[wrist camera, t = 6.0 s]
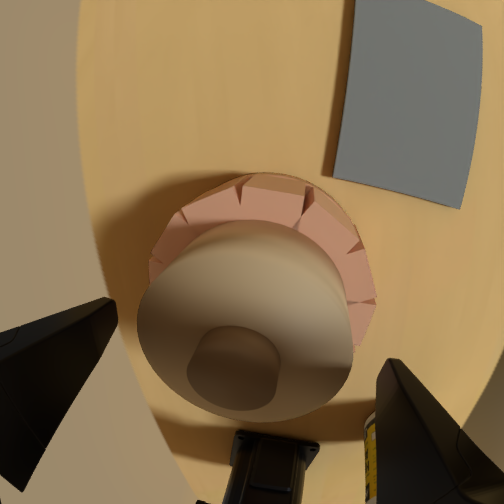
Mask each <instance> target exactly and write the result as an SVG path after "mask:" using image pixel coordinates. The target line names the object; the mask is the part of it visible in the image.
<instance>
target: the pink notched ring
mask: <svg viewBox="0 0 504 504" xmlns="http://www.w3.org/2000/svg"><path fill="white" fill-rule="evenodd" d="M237 220H264V221H270V222H274V223H278V224H282V225H285V226H287V227H290V228H293V229H295V230H297V231H299V232H300V233H302V234H304V235H306V236H307V237H309V238H310V239H311V240H313V241H314V242H316V243H317V244H318V245H319V246H320V247H321V248H322V249H323V250H324V251H325V252H326V253H327V254H328V256H329V257H330V258H331V259H332V261H333V262H334V264H335V266H336V267H337V269H338V271H339V273H340V275H341V278H342V281H343V284H344V289H345V293H346V299H347V306H348V312H349V319H350V326H351V333H352V341H353V353H354V352H355V346H354V345H357V346H360V345H361V342H362V340H363V338H364V335H365V333H366V330H367V328H368V326H369V323H370V321H371V318H372V315H373V313H374V310H375V308H376V302H375V299H374V298H376V297H377V295H376V291H375V286H374V282H373V278H372V274H371V270H370V266H369V263H368V259H367V255H366V251H365V248H364V246H363V243H362V241H361V238H360V236H359V233H358V231H357V229H356V226H355V224H354V225H353V223H352V220H351V218H350V217H349V216H348V215H347V214H346V213H345V211H344V210H343V209H342V207H341V206H340V205H339V204H338V203H337V202H336V201H335V200H334V199H333V198H332V197H331V196H330V195H329V194H327V193H326V192H325V191H323V190H322V189H321V188H319V187H317V186H315V185H314V184H312V183H310V182H308V181H305V180H303V179H300V178H298V177H294V176H290V175H286V174H280V173H254V174H249V175H244V176H240V177H237V178H234V179H232V180H230V181H228V182H226V183H224V184H222V185H220V186H218V187H216V188H214V189H212V190H209V191H207V192H205V193H203V194H202V195H200V196H199V197H197V198H196V199H194V200H193V201H191V202H190V203H188V204H187V205H185V206H184V207H182V208H181V210H179V211H178V212H177V213H175V214H174V215H173V217H172V219H171V220H170V222H169V223H168V225H167V227H166V228H165V230H164V231H163V233H162V235H161V236H160V238H159V239H158V241H157V243H156V244H155V246H154V248H153V249H152V251H151V254H152V255H154V256H153V257H152V258H151V259H150V260H149V284H150V285H151V284H152V282H153V281H154V280H155V279H156V278H157V277H158V276H159V275H160V274H161V273H162V272H163V271H164V270H165V268H166V267H167V266H168V265H169V264H170V263H171V262H172V261H173V260H174V259H175V258H176V257H177V256H178V255H179V254H180V253H181V252H182V251H183V250H184V249H185V248H186V247H187V246H188V245H189V244H190V243H191V242H192V241H193V240H194V239H195V238H196V237H197V236H199V235H200V234H202V233H203V232H205V231H207V230H208V229H211V228H213V227H215V226H217V225H220V224H223V223H227V222H231V221H237Z"/></svg>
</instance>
